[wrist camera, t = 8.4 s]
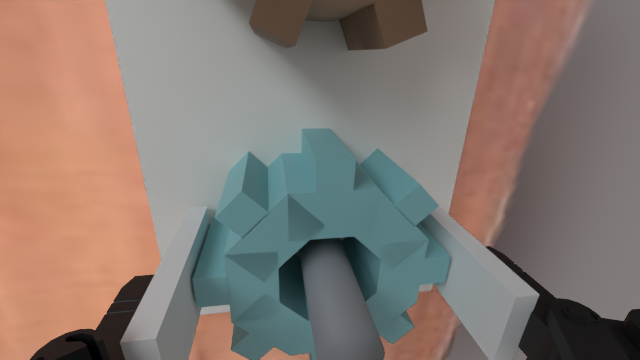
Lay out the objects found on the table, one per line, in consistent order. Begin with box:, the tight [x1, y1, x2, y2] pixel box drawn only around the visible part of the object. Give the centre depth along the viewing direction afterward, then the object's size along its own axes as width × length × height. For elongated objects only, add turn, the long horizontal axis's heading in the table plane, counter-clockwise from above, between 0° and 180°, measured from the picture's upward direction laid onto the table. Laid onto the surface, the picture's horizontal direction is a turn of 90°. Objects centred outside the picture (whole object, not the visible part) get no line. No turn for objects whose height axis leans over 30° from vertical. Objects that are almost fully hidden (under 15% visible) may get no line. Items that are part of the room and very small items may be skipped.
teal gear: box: [192, 128, 451, 360], centre depth 12 cm, size 9×9×4 cm
